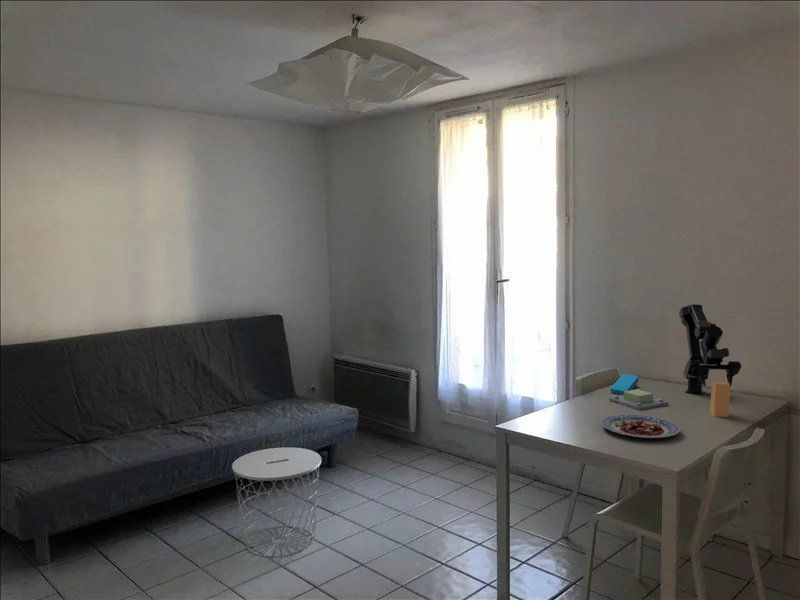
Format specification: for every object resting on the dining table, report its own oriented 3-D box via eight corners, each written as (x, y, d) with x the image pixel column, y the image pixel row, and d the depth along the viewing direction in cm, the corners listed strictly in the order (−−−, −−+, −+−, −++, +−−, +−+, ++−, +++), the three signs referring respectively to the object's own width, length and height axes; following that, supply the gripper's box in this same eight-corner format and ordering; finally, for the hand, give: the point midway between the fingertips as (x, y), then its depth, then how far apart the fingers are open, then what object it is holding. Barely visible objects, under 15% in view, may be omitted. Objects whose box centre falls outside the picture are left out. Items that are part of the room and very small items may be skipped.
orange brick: (710, 412, 247) (711, 380, 246) (724, 413, 246) (725, 381, 245) (714, 416, 242) (715, 384, 241) (728, 417, 241) (730, 384, 240)
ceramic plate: (695, 435, 222) (696, 426, 222) (644, 448, 209) (645, 439, 209) (635, 416, 244) (635, 408, 244) (585, 427, 232) (586, 419, 231)
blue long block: (627, 405, 275) (642, 386, 287) (626, 391, 273) (641, 372, 285) (611, 403, 279) (627, 384, 292) (610, 388, 277) (626, 370, 290)
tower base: (637, 395, 273) (637, 385, 272) (668, 404, 258) (668, 394, 258) (609, 400, 266) (609, 390, 265) (639, 410, 251) (639, 399, 251)
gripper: (689, 339, 251) (696, 373, 242) (740, 340, 248) (750, 375, 239) (683, 355, 260) (690, 389, 250) (732, 357, 257) (741, 390, 247)
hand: (717, 385), depth 246 cm, fingers open, 9 cm apart
